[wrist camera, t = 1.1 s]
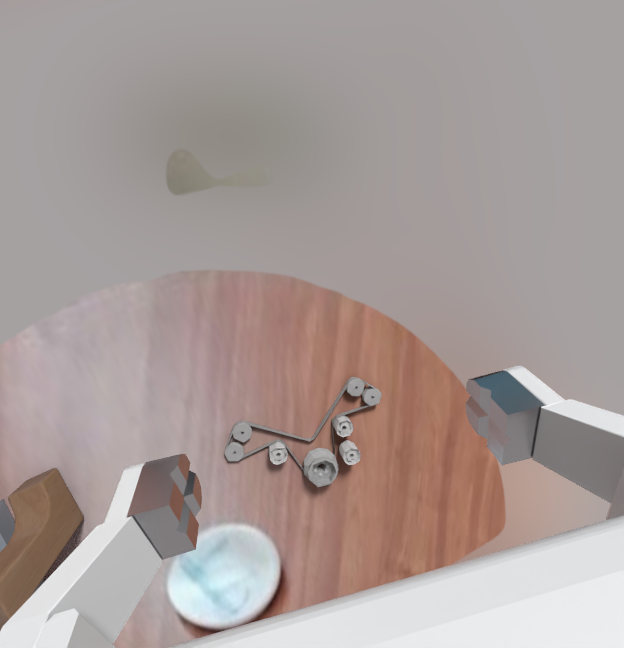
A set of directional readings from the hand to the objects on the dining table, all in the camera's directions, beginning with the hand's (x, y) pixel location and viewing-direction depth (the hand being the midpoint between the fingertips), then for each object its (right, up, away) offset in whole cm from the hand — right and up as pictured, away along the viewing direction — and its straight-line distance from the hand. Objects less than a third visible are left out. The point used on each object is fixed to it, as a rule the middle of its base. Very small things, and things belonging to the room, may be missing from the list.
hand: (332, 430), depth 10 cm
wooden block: (-38, -23, +43) cm, 62 cm away
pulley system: (-1, -16, +51) cm, 53 cm away
